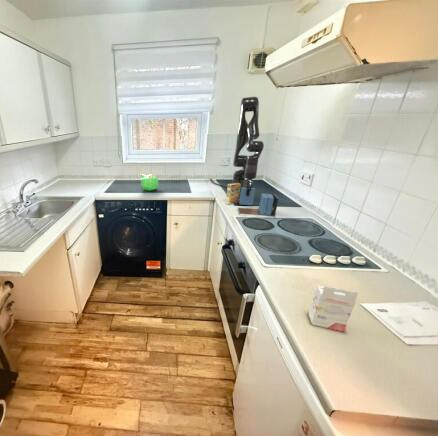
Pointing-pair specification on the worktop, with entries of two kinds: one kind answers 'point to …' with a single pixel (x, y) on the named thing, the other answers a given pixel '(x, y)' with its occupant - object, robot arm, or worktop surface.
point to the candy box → (233, 193)
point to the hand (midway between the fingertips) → (247, 194)
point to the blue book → (246, 199)
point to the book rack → (255, 211)
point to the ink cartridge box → (332, 307)
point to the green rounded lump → (149, 182)
